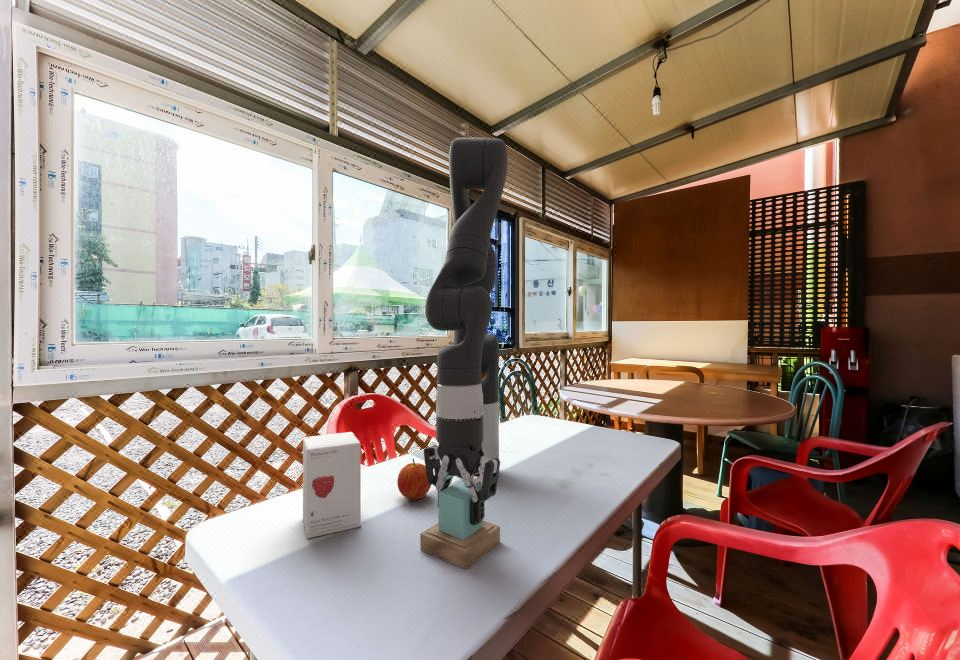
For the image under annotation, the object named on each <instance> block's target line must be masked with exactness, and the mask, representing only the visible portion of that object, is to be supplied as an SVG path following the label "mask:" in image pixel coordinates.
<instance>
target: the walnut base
mask: <svg viewBox="0 0 960 660" xmlns="http://www.w3.org/2000/svg"><path fill="white" fill-rule="evenodd" d="M500 528H501V527H500V525H497V524H496V523H495V524H494V523H491V522H488V521H485V520H483V527H481V528H480V529H479V530H477V531H476V532H474V533H473V534H472V535H470V536H469V537H467V538H466V539H465V540H462V539H459V538H457V537H454V536H452V535H449V534H446V533H444V532H441V531H439V522H438V523H436V524H434V525H432V526H431V527H429V528H428V529H426V530H425V531H422V532H420V533H419V534H420V537H419V538H420V539H419V540H420V544H419V545H420V548H419V549H420V551H422V552H424V553H427V554H430V555H432V556H434V557H437V558H438V559H441V560H444V561H445V562H448V563H450V564H453V565H455V566H458V567H460V568H462V569H465V570H468V569H469V568H470V567H471V566H472V565H473V564H475V563H476V562H477V561H478V560H480V558H482V557H483V556H484V555H486V554H487V553H489V551H490V550H492V549H493V548H494V547H495V546H497V544H499V543H500V542H501V534H500V533H501V529H500Z"/></svg>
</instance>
